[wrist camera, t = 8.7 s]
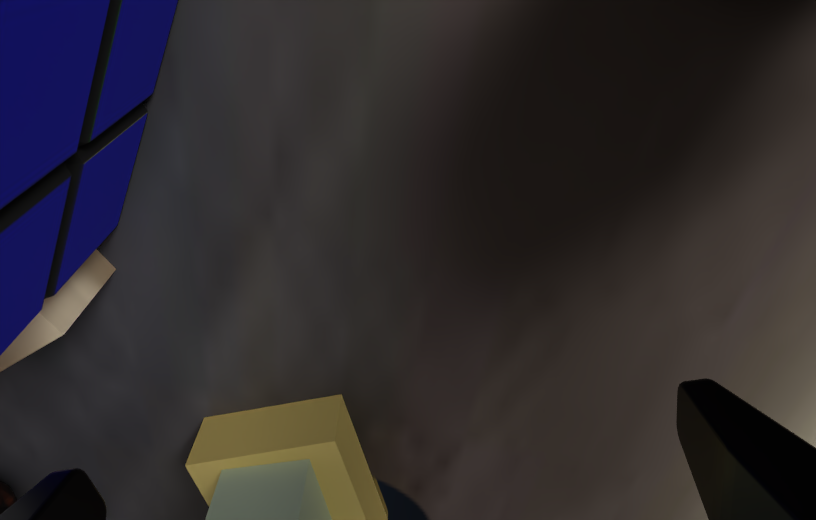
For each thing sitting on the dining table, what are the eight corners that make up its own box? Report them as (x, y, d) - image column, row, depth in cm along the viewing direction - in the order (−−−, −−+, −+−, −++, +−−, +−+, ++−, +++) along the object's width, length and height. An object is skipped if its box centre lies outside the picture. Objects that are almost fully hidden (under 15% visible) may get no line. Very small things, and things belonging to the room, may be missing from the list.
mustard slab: (342, 386, 26) (335, 440, 23) (387, 510, 30) (386, 569, 27) (207, 410, 26) (185, 465, 24) (269, 528, 30) (255, 587, 28)
